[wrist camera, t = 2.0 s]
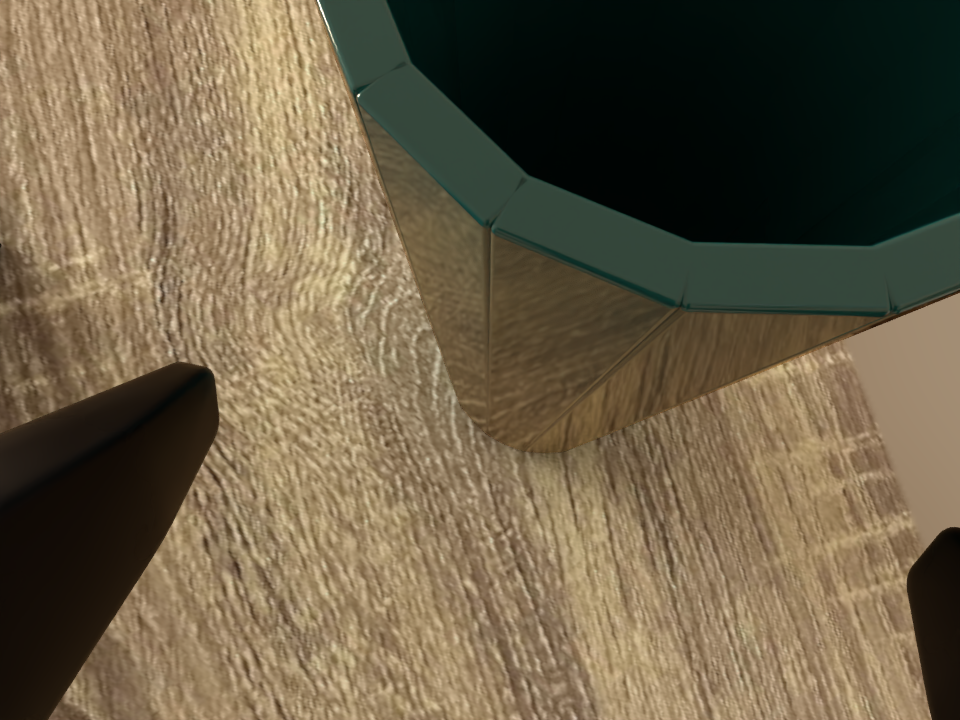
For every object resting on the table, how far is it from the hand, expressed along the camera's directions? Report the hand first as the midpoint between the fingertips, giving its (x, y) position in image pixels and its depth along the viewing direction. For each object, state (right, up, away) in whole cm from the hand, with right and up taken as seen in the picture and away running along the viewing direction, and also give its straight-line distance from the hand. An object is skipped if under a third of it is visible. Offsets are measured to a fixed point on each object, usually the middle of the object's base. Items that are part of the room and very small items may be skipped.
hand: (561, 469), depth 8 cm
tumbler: (+1, +1, +12) cm, 12 cm away
